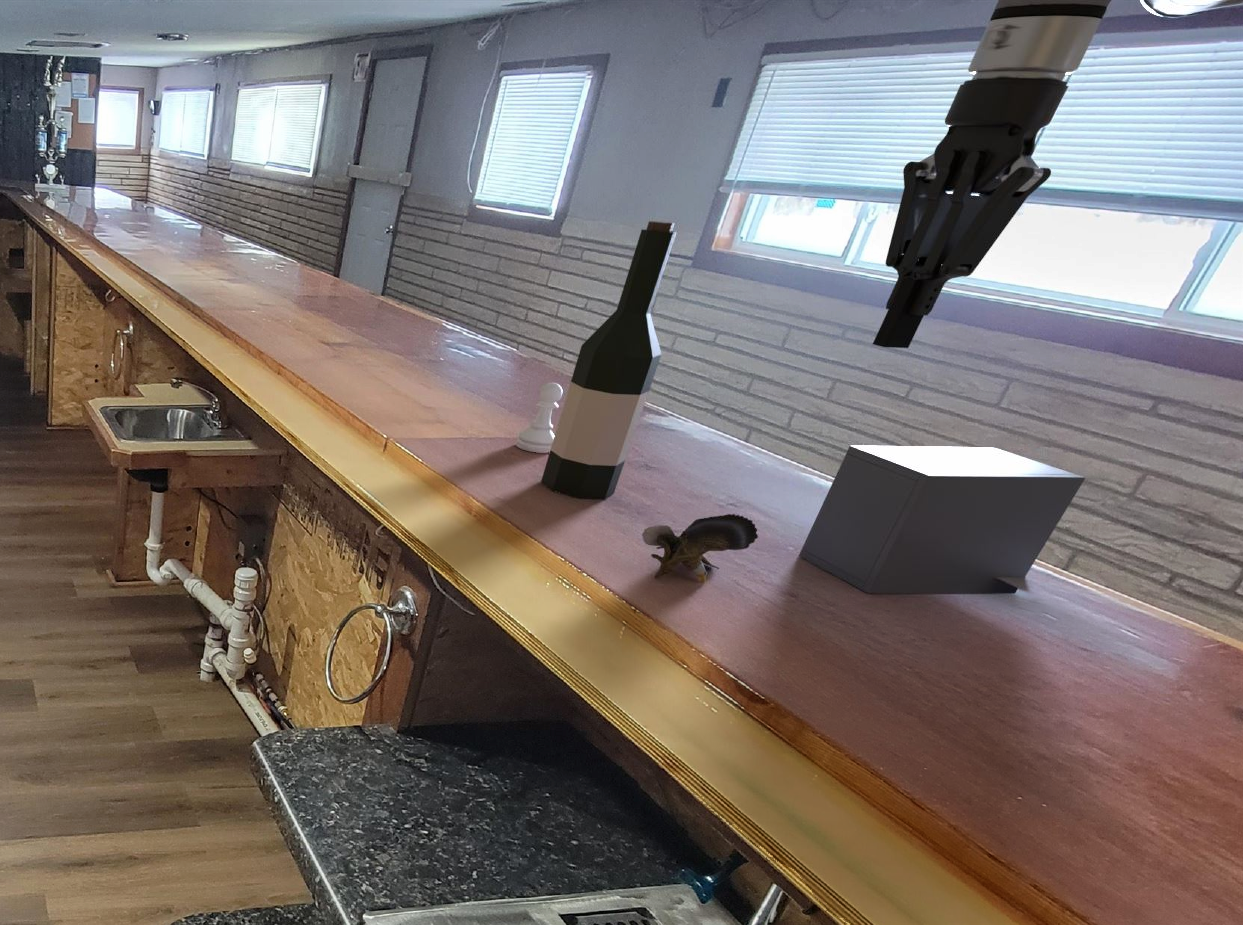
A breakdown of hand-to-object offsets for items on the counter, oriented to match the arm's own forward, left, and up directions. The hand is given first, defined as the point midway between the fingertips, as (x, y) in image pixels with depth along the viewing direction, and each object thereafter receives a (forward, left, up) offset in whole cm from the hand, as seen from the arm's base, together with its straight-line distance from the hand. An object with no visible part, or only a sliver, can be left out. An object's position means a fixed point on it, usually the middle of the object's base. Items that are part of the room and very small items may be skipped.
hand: (890, 345), depth 94 cm
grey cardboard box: (0, +13, -20) cm, 24 cm away
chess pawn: (+18, -28, -20) cm, 39 cm away
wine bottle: (+21, -12, -20) cm, 32 cm away
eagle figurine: (+24, +13, -20) cm, 34 cm away
